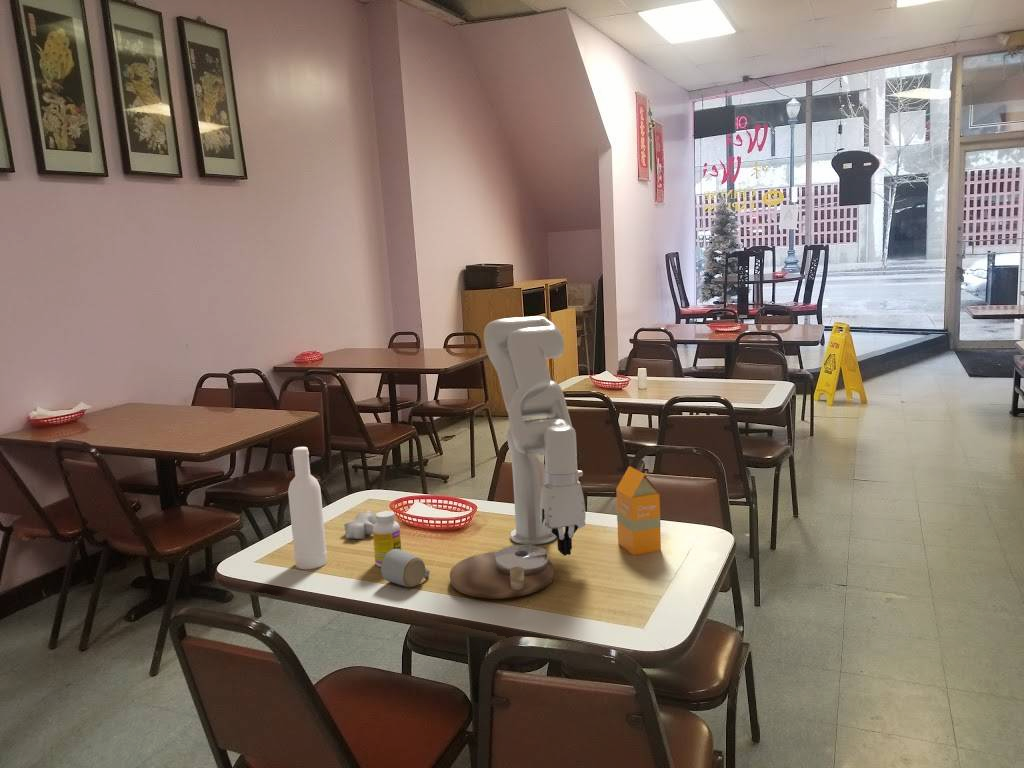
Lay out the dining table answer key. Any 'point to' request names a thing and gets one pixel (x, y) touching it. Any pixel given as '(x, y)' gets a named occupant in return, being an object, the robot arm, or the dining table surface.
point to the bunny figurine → (360, 525)
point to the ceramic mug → (403, 568)
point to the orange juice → (638, 513)
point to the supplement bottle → (385, 535)
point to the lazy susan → (495, 578)
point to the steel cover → (522, 559)
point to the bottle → (306, 514)
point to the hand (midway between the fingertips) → (565, 553)
